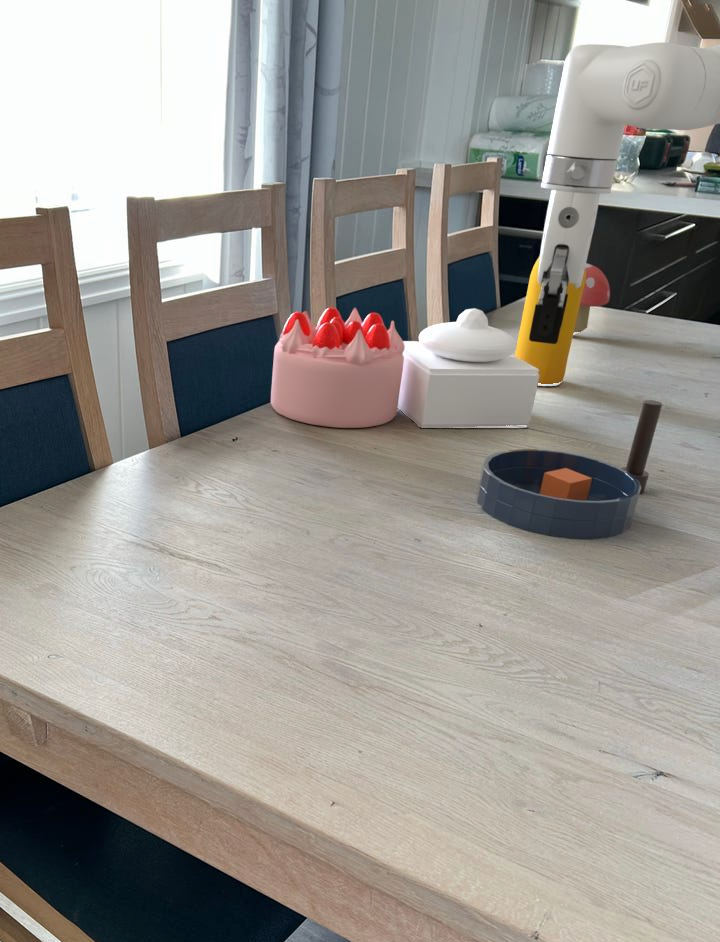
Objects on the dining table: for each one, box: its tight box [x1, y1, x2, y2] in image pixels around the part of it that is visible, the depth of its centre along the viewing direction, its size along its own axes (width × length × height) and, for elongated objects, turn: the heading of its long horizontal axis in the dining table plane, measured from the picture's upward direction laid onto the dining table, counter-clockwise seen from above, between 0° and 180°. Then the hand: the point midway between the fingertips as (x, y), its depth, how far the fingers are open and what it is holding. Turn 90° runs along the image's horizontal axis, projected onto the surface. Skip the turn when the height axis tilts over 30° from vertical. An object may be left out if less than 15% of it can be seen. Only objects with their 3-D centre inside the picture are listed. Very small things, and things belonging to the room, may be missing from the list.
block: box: [540, 468, 592, 501], centre depth 118 cm, size 4×4×4 cm
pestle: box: [620, 399, 663, 496], centre depth 123 cm, size 4×4×12 cm
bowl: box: [476, 448, 641, 540], centre depth 117 cm, size 18×18×5 cm
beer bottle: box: [514, 255, 586, 384], centre depth 168 cm, size 9×9×29 cm
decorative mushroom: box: [574, 262, 611, 333], centre depth 208 cm, size 13×13×15 cm
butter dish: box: [397, 307, 540, 428], centre depth 151 cm, size 18×18×16 cm
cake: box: [270, 306, 405, 429], centre depth 148 cm, size 20×20×14 cm
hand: (545, 334), depth 116 cm, fingers open, 9 cm apart
